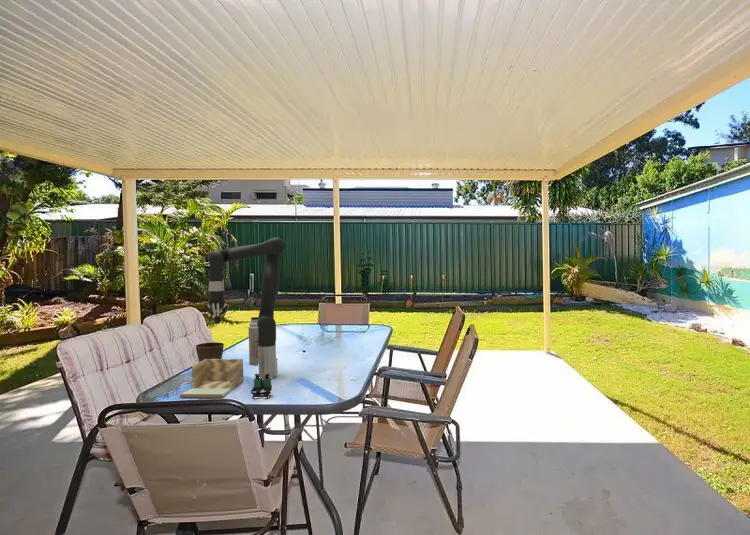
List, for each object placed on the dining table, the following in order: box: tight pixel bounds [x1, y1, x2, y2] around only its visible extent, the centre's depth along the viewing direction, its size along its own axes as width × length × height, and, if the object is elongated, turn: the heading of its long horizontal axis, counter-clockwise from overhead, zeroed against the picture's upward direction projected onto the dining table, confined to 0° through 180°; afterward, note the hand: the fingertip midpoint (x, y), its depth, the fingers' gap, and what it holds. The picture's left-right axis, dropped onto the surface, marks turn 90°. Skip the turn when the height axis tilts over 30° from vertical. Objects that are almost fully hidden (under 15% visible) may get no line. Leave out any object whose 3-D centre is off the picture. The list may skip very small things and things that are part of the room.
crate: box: [191, 358, 244, 391], centre depth 255 cm, size 20×16×12 cm
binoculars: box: [250, 373, 273, 398], centre depth 234 cm, size 9×11×10 cm
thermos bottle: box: [248, 316, 259, 366], centre depth 302 cm, size 8×8×28 cm
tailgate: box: [179, 387, 232, 399], centre depth 239 cm, size 20×1×12 cm
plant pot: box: [195, 341, 225, 363], centre depth 281 cm, size 15×15×16 cm
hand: (217, 323), depth 260 cm, fingers closed
